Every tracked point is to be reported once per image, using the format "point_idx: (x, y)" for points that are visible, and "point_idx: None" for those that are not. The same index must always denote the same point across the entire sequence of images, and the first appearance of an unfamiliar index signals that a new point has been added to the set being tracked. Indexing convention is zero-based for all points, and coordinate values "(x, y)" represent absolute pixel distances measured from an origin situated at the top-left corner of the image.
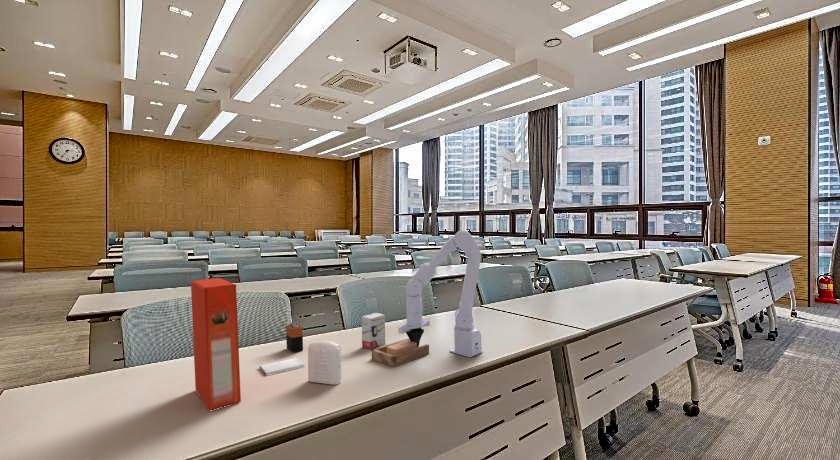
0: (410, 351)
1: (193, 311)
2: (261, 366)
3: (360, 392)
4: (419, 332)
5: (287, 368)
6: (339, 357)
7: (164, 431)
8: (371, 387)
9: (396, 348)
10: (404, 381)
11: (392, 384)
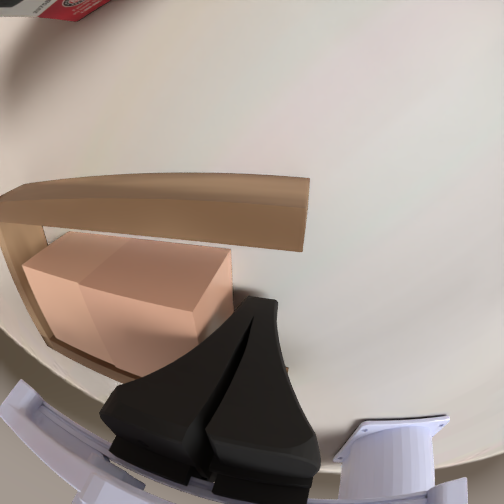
0: (123, 382)
1: None
2: None
3: (11, 323)
4: (215, 478)
5: None
6: None
7: None
8: (23, 331)
9: (59, 329)
10: (78, 377)
11: (55, 361)
